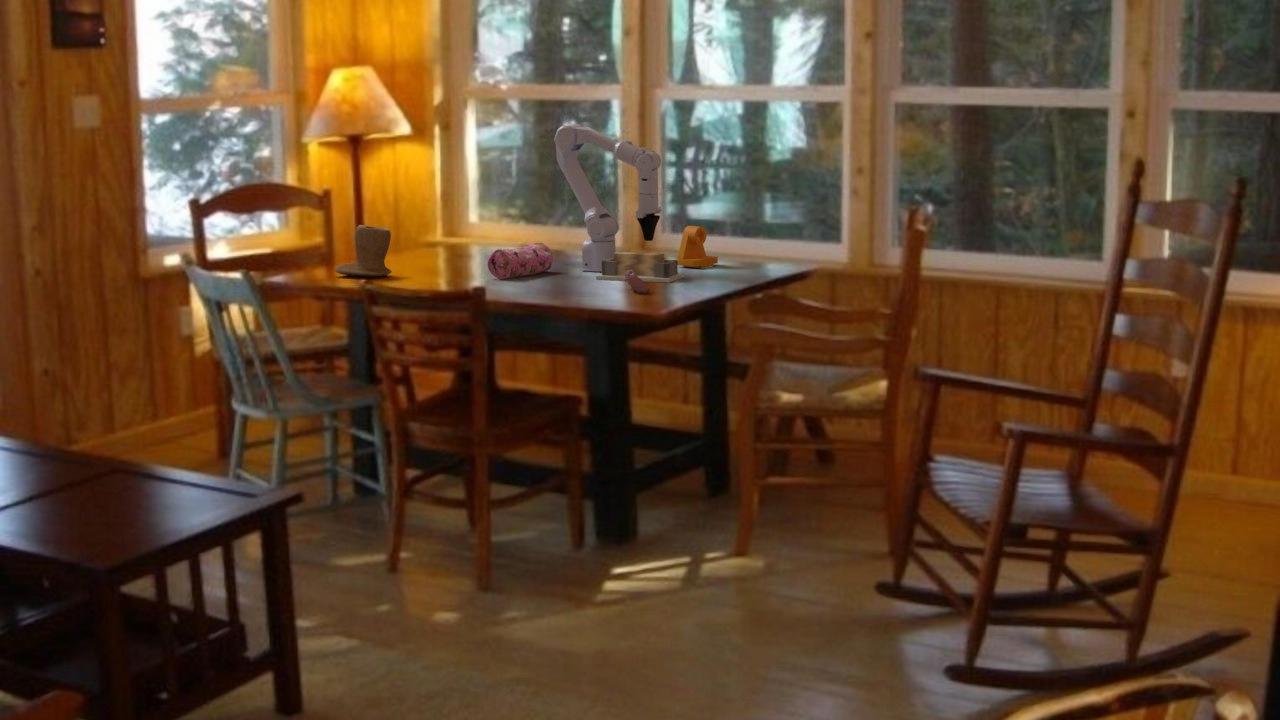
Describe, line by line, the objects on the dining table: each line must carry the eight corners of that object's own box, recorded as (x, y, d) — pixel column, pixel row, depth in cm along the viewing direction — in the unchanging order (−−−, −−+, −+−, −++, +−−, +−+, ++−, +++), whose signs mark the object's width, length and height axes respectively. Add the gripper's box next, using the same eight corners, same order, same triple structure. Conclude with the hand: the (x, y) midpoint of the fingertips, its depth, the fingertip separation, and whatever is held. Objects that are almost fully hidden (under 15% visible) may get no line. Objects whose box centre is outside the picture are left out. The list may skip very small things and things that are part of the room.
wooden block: (614, 274, 494) (613, 253, 493) (618, 272, 497) (618, 252, 496) (660, 276, 489) (660, 255, 488) (664, 274, 492) (664, 253, 491)
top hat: (400, 274, 506) (399, 223, 503) (377, 280, 496) (375, 228, 493) (358, 272, 513) (356, 221, 510) (334, 277, 502) (331, 225, 499)
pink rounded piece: (631, 294, 475) (619, 271, 473) (646, 286, 475) (634, 263, 473) (634, 299, 465) (622, 276, 463) (649, 291, 465) (637, 268, 463)
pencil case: (530, 270, 513) (529, 240, 511) (555, 272, 508) (554, 242, 506) (485, 279, 496) (484, 248, 494) (510, 281, 491) (509, 250, 489)
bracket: (696, 269, 510) (695, 229, 507) (677, 267, 514) (677, 227, 512) (719, 265, 518) (718, 225, 515) (700, 263, 522) (700, 224, 520)
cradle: (596, 279, 492) (595, 261, 491) (611, 273, 503) (611, 256, 502) (668, 282, 484) (668, 264, 483) (683, 276, 495) (683, 259, 494)
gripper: (651, 196, 492) (652, 243, 494) (670, 191, 505) (670, 238, 508) (628, 195, 494) (629, 243, 497) (647, 191, 508) (648, 237, 510)
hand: (648, 240), depth 502 cm, fingers closed
